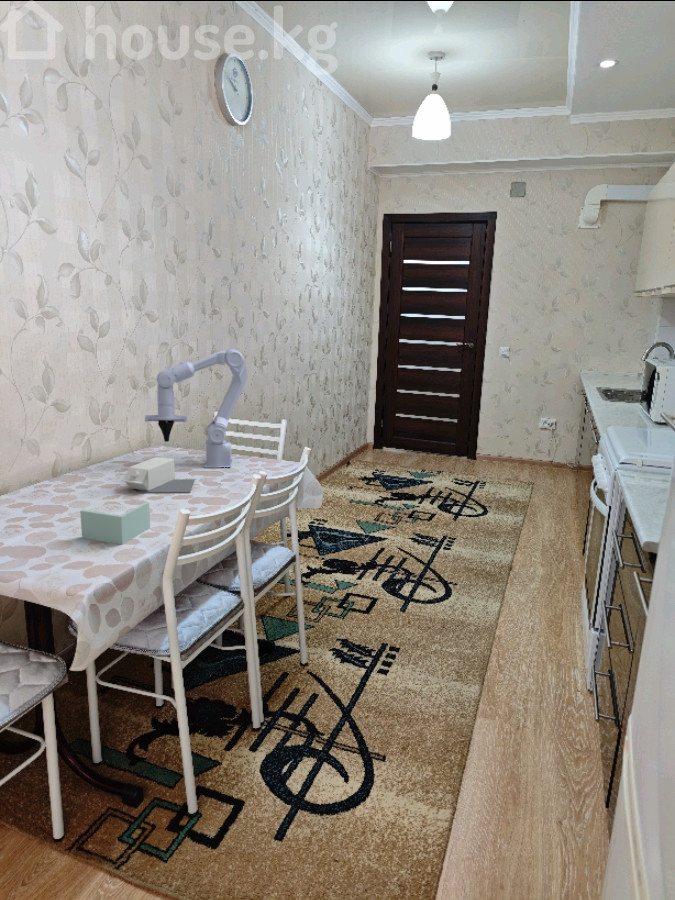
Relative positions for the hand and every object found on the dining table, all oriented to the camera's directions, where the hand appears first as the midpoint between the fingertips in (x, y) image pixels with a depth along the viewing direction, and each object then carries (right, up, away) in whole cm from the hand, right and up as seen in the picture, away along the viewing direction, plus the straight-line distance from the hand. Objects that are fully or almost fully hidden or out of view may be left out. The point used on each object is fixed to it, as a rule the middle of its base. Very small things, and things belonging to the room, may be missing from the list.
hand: (166, 441), depth 216 cm
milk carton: (+4, -9, -13) cm, 16 cm away
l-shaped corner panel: (+4, -25, -60) cm, 66 cm away
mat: (+6, -15, -21) cm, 26 cm away
